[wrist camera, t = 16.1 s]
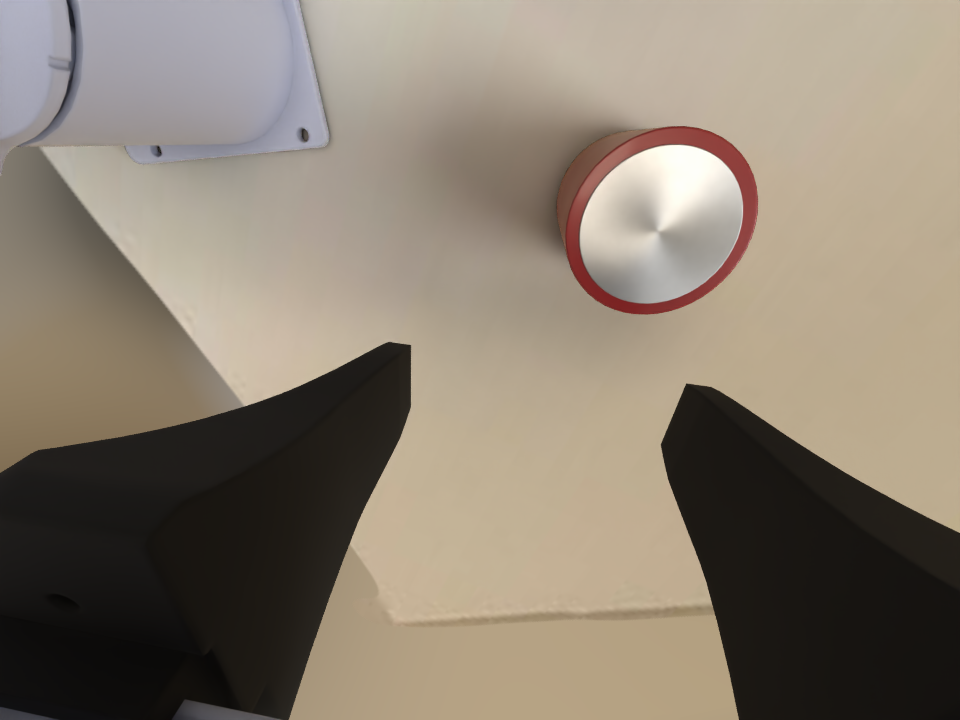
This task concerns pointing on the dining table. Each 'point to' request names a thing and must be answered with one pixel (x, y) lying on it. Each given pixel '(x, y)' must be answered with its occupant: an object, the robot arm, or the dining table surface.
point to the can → (656, 216)
